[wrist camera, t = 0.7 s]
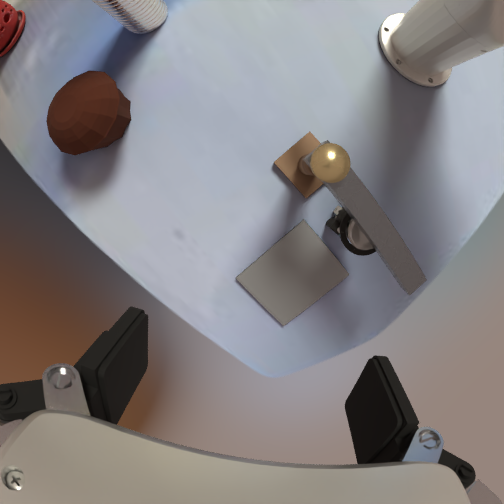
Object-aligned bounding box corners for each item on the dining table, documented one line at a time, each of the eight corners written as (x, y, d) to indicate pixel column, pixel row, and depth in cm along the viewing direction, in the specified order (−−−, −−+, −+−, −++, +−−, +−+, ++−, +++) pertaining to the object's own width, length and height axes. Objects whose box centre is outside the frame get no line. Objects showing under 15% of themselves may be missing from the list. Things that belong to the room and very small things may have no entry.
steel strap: (324, 139, 24) (332, 135, 20) (419, 269, 26) (433, 280, 23) (298, 161, 24) (303, 160, 21) (397, 288, 27) (409, 301, 24)
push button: (346, 179, 35) (373, 184, 25) (375, 205, 35) (408, 219, 26) (315, 218, 36) (332, 236, 27) (344, 243, 37) (368, 268, 28)
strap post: (308, 132, 33) (324, 119, 23) (339, 168, 34) (366, 168, 24) (273, 162, 35) (276, 159, 25) (305, 197, 36) (319, 209, 26)
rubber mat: (303, 219, 37) (304, 220, 36) (348, 273, 38) (349, 274, 38) (236, 277, 39) (235, 278, 39) (283, 324, 41) (283, 326, 41)
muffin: (77, 162, 36) (34, 164, 26) (75, 95, 33) (34, 85, 23) (144, 145, 35) (106, 140, 25) (140, 72, 32) (106, 50, 22)
